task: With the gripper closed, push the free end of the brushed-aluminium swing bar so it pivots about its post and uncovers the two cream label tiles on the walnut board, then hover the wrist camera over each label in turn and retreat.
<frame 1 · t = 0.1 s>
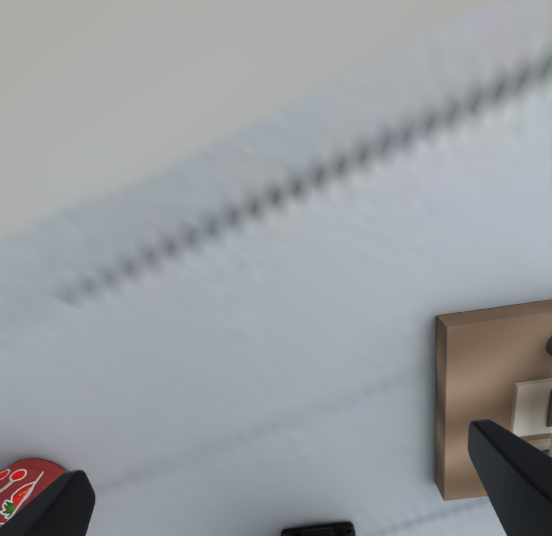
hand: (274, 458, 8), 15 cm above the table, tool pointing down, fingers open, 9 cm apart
smoothie: (42, 480, 28), on the table
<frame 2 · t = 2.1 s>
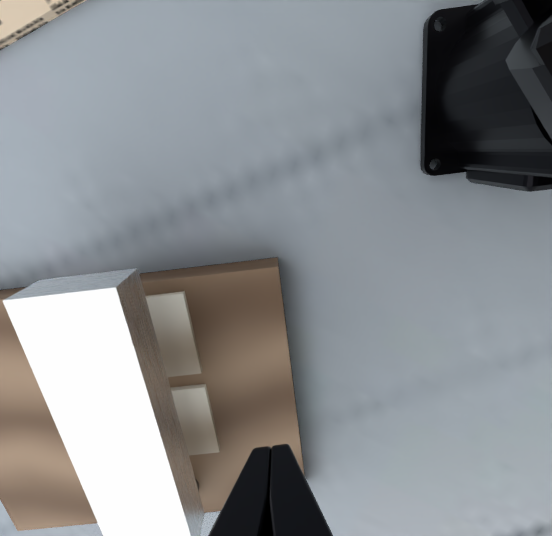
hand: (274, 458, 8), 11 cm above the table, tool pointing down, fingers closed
label board: (137, 400, 20), on the table
swing bar: (130, 455, 15), point 5 cm above the table, hinge at 0.0°
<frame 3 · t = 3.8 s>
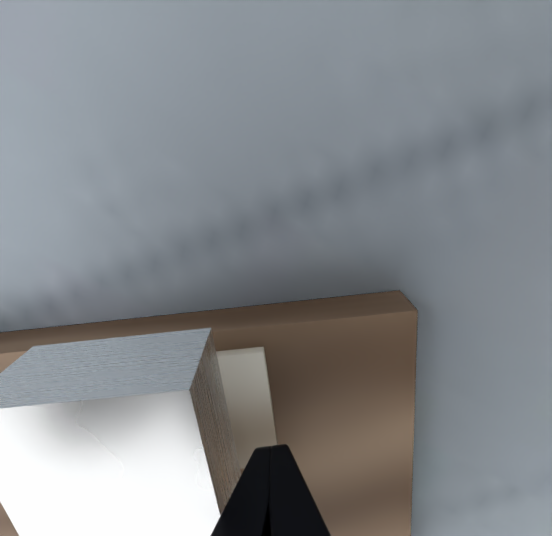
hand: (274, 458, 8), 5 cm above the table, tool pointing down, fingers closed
label board: (175, 484, 14), on the table
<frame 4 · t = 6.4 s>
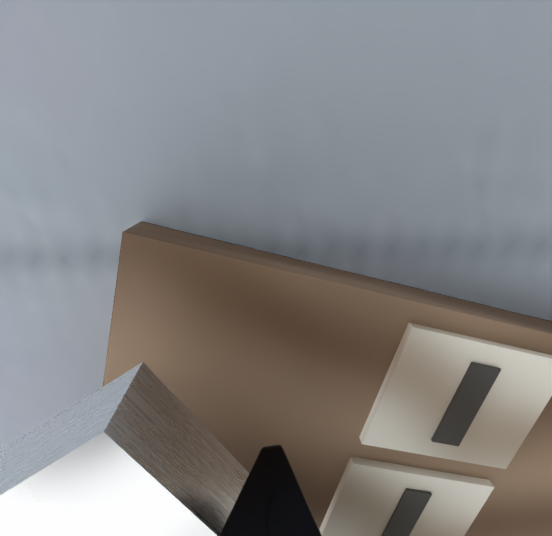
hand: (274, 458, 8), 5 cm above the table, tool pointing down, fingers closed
label board: (345, 461, 14), on the table
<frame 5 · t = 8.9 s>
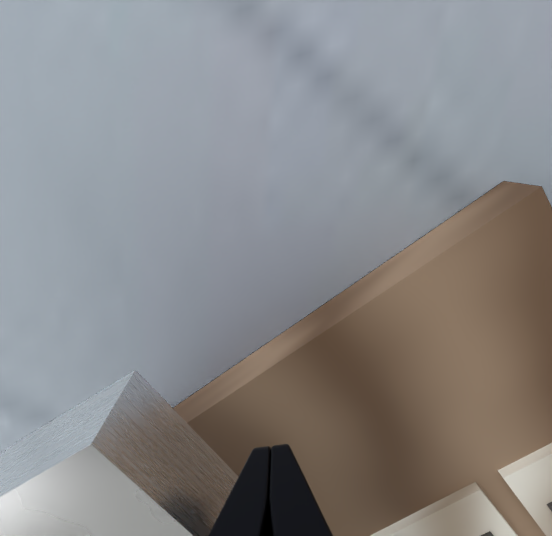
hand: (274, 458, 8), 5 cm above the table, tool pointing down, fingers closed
label board: (425, 478, 14), on the table
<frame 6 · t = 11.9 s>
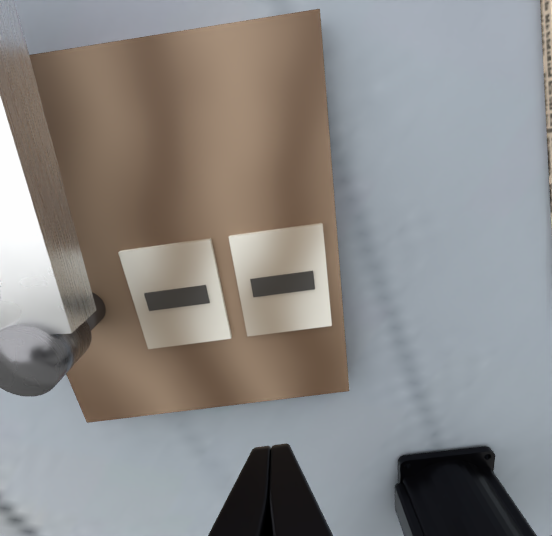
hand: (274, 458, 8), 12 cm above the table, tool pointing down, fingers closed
label board: (186, 249, 18), on the table
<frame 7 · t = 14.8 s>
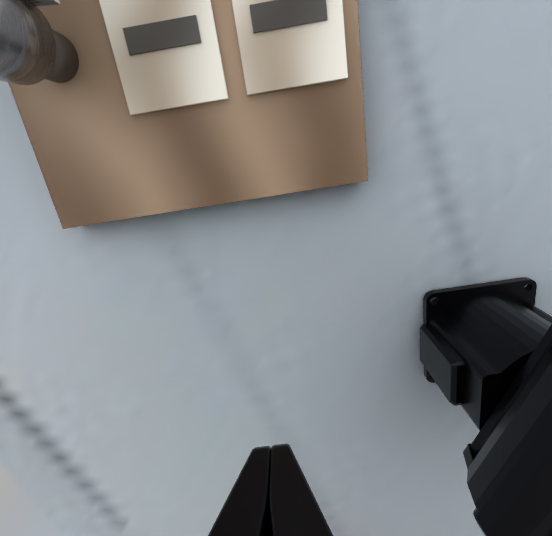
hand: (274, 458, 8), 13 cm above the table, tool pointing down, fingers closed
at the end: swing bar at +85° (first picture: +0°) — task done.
